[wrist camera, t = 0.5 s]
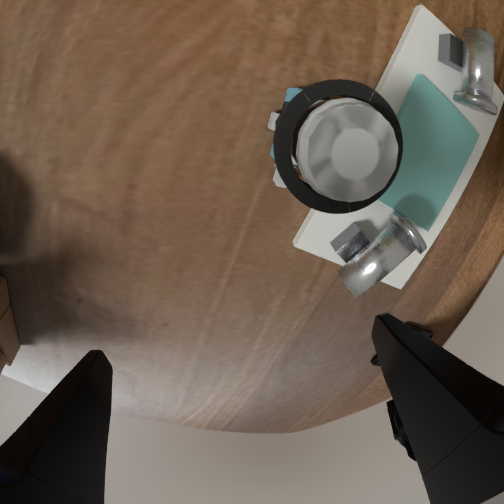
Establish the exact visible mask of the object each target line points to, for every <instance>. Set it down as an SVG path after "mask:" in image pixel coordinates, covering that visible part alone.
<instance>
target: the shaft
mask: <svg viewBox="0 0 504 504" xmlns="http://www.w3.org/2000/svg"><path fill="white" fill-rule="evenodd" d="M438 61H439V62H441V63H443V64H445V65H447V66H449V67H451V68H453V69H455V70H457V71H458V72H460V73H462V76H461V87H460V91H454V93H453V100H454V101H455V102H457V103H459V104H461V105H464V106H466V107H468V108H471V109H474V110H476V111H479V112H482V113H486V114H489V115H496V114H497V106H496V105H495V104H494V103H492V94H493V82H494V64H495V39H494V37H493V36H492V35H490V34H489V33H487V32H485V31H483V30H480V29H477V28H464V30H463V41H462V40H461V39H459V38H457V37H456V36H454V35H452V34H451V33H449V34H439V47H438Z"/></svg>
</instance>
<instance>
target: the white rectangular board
mask: <svg viewBox="0 0 504 504" xmlns="http://www.w3.org/2000/svg"><path fill="white" fill-rule="evenodd" d="M449 33H451V34H452V35H454V34H453V33H452V32H451V31H450V30H449V29H448V28H447V27H446V26H445V25H444V24H443V23H442V22H441V21H440V20H439V19H437V18H436V17H435V16H434V15H433V14H432V13H431V12H430V11H429V10H428V9H426V8H425V7H424V6H423V5H418V6H416V7H415V9H414V11H413V14H412V16H411V18H410V20H409V22H408V24H407V26H406V28H405V30H404V32H403V35H402V37H401V39H400V41H399V43H398V45H397V47H396V49H395V51H394V53H393V55H392V57H391V59H390V61H389V63H388V65H387V67H386V69H385V71H384V73H383V75H382V77H381V79H380V81H379V83H378V85H377V87H376V89H375V91H376V92H377V93H379V94H380V95H381V96H382V97H383V98H384V99H385V100H386V101H387V102H388V103H389V105H390V106H391V108H392V109H393V111H394V112H395V114H396V116H397V119H398V121H399V124H400V127H401V131H402V137H403V154H402V160H401V164H400V168H399V170H398V173H397V175H396V177H395V179H394V181H393V182H392V184H391V186H390V187H389V188H388V190H387V191H386V192H385V193H384V194H383V195H382V196H381V197H380V198H379V199H378V200H376V201H375V202H374V203H372V204H370V205H369V206H367V207H365V208H363V209H361V210H358V211H355V212H351V213H345V214H329V213H324V212H320V211H317V210H315V209H312V208H311V210H310V211H309V213H308V215H307V217H306V218H305V220H304V222H303V224H302V226H301V227H300V229H299V231H298V233H297V234H296V236H295V238H294V240H293V241H292V242H293V244H294V246H295V247H297V248H299V249H302V250H304V251H307V252H309V253H312V254H315V255H317V256H320V257H322V258H325V259H327V260H330V261H332V262H335V263H337V264H340V265H342V266H343V265H344V264H346V263H345V261H344V260H343V259H342V258H341V257H340V256H339V255H338V254H337V253H336V252H335V250H334V249H333V247H332V246H331V244H330V242H331V241H332V240H333V239H335V238H336V237H337V236H338V235H339V234H340V233H341V232H343V231H344V230H345V229H346V228H347V227H348V226H349V225H350V224H351V223H353V222H354V223H355V224H356V225H357V226H358V228H359V229H360V230H361V231H362V232H363V233H364V235H365V236H366V237H367V238H368V240H369V241H370V242H371V241H372V240H373V239H374V238H375V237H376V236H378V235H379V234H380V233H381V232H382V231H383V230H384V229H385V228H386V227H387V226H388V225H390V224H391V223H392V221H391V220H390V218H389V215H390V214H391V213H392V212H393V211H394V210H398V211H399V212H401V213H402V214H403V215H404V216H405V217H406V218H407V219H408V220H409V221H410V222H411V223H412V225H413V226H414V227H415V228H416V229H417V231H418V232H419V233H420V235H421V236H422V238H423V240H424V241H425V243H426V246H427V249H426V250H425V251H424V252H423V253H421V254H419V253H417V252H416V251H413V252H412V253H411V254H410V255H409V256H408V257H407V258H406V259H405V260H404V261H403V262H401V263H400V264H399V265H398V266H397V267H396V268H395V269H394V270H392V271H391V272H390V273H389V274H388V275H387V276H386V277H384V278H383V279H382V280H381V281H382V282H384V283H386V284H389V285H391V286H394V287H396V288H399V289H401V288H402V287H403V286H404V284H405V283H406V282H407V280H408V279H409V277H410V276H411V275H412V273H413V272H414V270H415V269H416V268H417V266H418V265H419V263H420V262H421V260H422V259H423V257H424V256H425V254H426V253H427V251H428V250H429V248H430V247H431V245H432V244H433V242H434V241H435V239H436V237H437V236H438V234H439V233H440V231H441V229H442V228H443V226H444V224H445V223H446V221H447V219H448V218H449V216H450V214H451V213H452V211H453V209H454V207H455V206H456V204H457V202H458V200H459V198H460V197H461V195H462V193H463V191H464V189H465V187H466V185H467V184H468V182H469V180H470V178H471V176H472V174H473V172H474V170H475V168H476V166H477V164H478V162H479V159H480V157H481V155H482V153H483V151H484V149H485V146H486V144H487V142H488V140H489V137H490V135H491V133H492V130H493V128H494V125H495V123H496V120H497V118H498V115H499V113H500V110H501V107H502V104H503V102H504V95H503V93H502V92H501V91H500V89H499V88H498V86H497V85H496V84H495V82H493V94H492V103H494V104H495V105H496V106H497V114H496V115H489V114H486V113H482V112H479V111H476V110H474V109H471V108H468V107H466V106H464V105H461V104H459V103H457V102H455V101H454V100H453V93H454V91H460V87H461V76H462V73H460V72H458V71H457V70H455V69H453V68H451V67H449V66H447V65H445V64H443V63H441V62H439V61H438V47H439V34H449ZM454 36H455V35H454Z"/></svg>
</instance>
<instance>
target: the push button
mask: <svg viewBox="0 0 504 504" xmlns="http://www.w3.org/2000/svg"><path fill="white" fill-rule="evenodd" d="M333 95H339V96H343V97H346V98H342V99H334V100H331V99H330V98H328V97H329V96H333ZM271 120H272V121H271ZM268 128H269V129H271V130H274V131H275V132H274V139H273V145H272V149H271V156H272V157H273V158H274V160H275V166H276V170H275V174H274V177H273V181H274V182H276V183H275V185H276V186H279V187H283V188H286V187H287V188H288V189H289V191H290V192H291V193H292V194H293V195H294V196H295V197H296V198H297V199H298V200H299V201H301V202H302V203H303V204H305V205H307V206H308V207H310V208H312V209H315V210H317V211H320V212H324V213H329V214H345V213H351V212H355V211H358V210H361V209H363V208H365V207H367V206H369V205H370V204H372V203H374V202H375V201H376V200H378V199H379V198H380V197H381V196H382V195H383V194H384V193H385V192H386V191H387V190H388V188H389V187H390V186H391V184H392V182H393V181H394V179H395V177H396V175H397V173H398V170H399V168H400V164H401V160H402V154H403V137H402V131H401V127H400V124H399V121H398V119H397V116H396V114H395V112H394V111H393V109H392V108H391V106H390V105H389V103H388V102H387V101H386V100H385V99H384V98H383V97H382V96H381V95H380V94H379V93H377V92H376V91H375V90H373V89H372V88H370V87H368V86H366V85H364V84H362V83H359V82H355V81H351V80H342V79H338V80H327V81H322V82H319V83H315V84H313V85H311V86H309V87H307V88H305V89H301V88H297V87H296V88H288V90H287V93H286V96H285V102H284V104H283V107H282V110H281V113H280V114H278V113H275V112H272V113H271V116H270V120H269V123H268ZM295 167H299V168H300V171H301V174H302V176H303V178H304V179H305V180H306V181H307V182H308V183H306V182H304V181H303V180H301V179H300V178H299V176H298V175H297V173H296V170H295ZM277 175H278V176H277Z"/></svg>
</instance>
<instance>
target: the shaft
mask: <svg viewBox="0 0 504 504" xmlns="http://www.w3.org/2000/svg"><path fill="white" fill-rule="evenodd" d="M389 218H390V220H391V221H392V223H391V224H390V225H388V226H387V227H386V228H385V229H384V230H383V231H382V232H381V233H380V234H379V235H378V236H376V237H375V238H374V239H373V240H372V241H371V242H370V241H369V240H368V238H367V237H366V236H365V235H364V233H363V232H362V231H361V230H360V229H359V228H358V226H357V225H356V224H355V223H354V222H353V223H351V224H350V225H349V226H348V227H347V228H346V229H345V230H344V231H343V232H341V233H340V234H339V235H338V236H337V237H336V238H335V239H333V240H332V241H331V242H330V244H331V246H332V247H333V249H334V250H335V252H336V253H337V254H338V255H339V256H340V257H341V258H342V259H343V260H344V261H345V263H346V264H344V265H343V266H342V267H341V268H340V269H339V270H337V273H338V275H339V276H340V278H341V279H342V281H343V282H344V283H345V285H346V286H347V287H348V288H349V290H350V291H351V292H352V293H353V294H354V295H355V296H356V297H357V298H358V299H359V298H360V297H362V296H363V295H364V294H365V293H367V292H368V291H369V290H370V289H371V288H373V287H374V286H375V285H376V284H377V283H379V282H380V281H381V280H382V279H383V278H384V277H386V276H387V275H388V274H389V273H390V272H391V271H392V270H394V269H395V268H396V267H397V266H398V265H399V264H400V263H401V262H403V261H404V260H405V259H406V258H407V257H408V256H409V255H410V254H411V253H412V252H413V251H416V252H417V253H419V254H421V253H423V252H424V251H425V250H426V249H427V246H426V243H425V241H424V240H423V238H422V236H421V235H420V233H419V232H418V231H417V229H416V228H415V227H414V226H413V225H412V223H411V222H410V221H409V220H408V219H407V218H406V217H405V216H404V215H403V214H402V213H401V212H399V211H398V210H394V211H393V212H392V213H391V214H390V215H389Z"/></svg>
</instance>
